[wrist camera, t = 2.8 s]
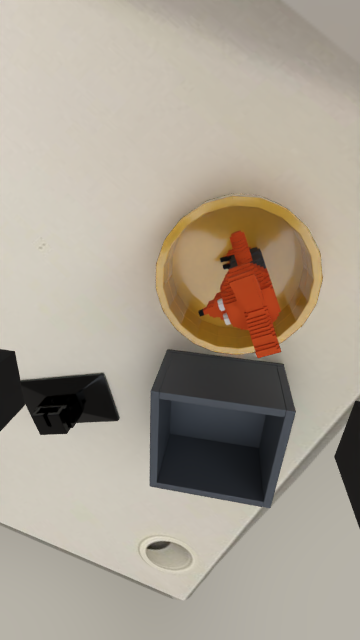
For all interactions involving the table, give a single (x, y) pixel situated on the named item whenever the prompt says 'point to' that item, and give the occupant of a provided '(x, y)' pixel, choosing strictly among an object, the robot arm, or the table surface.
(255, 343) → the toy animal
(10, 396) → the robot arm
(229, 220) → the bowl
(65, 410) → the build plate
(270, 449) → the bin
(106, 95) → the table surface
